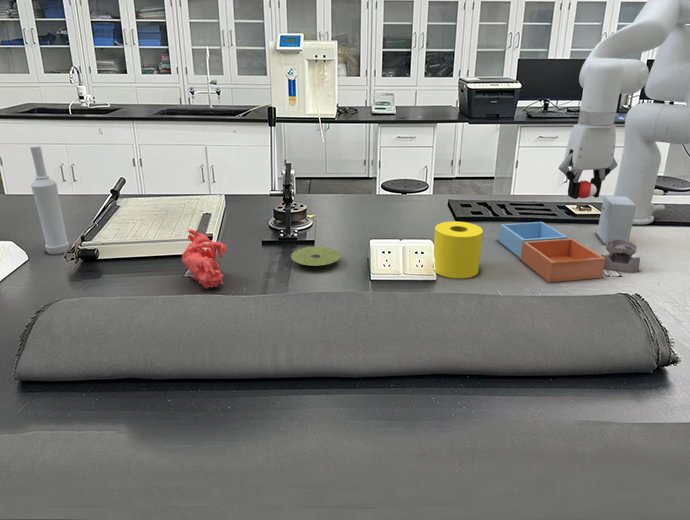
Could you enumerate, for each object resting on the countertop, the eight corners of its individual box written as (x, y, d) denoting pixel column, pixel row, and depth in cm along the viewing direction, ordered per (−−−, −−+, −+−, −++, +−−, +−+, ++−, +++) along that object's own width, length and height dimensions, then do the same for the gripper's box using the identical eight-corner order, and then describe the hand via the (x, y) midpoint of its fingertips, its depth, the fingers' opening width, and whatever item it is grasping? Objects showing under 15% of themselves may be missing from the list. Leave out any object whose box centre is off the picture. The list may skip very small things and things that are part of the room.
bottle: (75, 248, 129) (53, 145, 119) (56, 256, 125) (32, 149, 115) (60, 245, 131) (37, 143, 121) (41, 252, 127) (16, 147, 117)
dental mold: (639, 264, 121) (644, 243, 119) (636, 274, 115) (641, 253, 113) (601, 257, 125) (605, 237, 123) (596, 266, 119) (601, 246, 117)
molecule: (572, 199, 127) (575, 182, 125) (572, 194, 131) (575, 177, 129) (595, 201, 125) (598, 184, 123) (594, 195, 129) (597, 178, 127)
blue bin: (540, 238, 136) (542, 221, 134) (564, 254, 126) (568, 237, 124) (498, 241, 134) (500, 224, 132) (520, 258, 124) (522, 240, 122)
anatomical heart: (212, 302, 106) (191, 254, 100) (182, 284, 114) (162, 238, 108) (246, 279, 111) (229, 232, 105) (216, 263, 119) (198, 218, 113)
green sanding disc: (318, 250, 128) (317, 242, 128) (350, 263, 121) (350, 255, 120) (281, 262, 121) (280, 255, 120) (313, 277, 114) (313, 269, 113)
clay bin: (569, 256, 125) (572, 238, 123) (601, 277, 114) (605, 258, 112) (520, 259, 123) (522, 241, 121) (548, 282, 112) (552, 262, 110)
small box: (628, 246, 131) (637, 205, 127) (603, 244, 132) (612, 203, 128) (619, 235, 138) (627, 196, 134) (596, 233, 139) (603, 195, 135)
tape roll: (451, 281, 112) (454, 240, 108) (423, 265, 120) (426, 225, 116) (487, 272, 116) (492, 232, 112) (458, 257, 124) (462, 219, 121)
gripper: (618, 115, 125) (604, 190, 133) (553, 118, 122) (542, 194, 130) (641, 120, 119) (624, 198, 126) (571, 123, 116) (559, 203, 123)
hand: (583, 195), depth 128 cm, fingers closed on molecule, 4 cm apart
